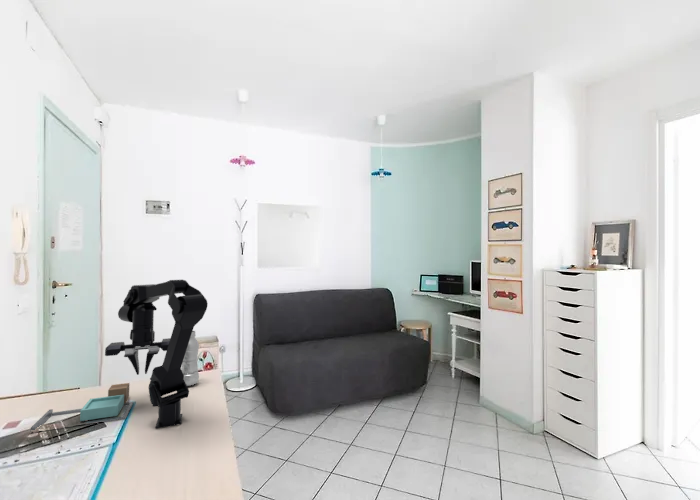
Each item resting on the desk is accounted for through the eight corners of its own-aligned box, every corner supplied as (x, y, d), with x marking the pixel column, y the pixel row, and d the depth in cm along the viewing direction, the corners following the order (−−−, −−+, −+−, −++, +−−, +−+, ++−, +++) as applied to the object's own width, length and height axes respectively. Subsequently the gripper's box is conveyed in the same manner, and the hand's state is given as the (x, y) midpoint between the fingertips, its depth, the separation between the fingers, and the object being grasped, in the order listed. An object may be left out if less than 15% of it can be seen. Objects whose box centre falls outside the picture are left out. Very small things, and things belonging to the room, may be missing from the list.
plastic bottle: (202, 382, 132) (203, 330, 132) (192, 389, 125) (193, 333, 125) (186, 381, 132) (187, 329, 133) (175, 388, 125) (176, 333, 126)
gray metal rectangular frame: (125, 419, 101) (125, 413, 101) (30, 433, 93) (30, 427, 93) (133, 403, 112) (133, 398, 112) (49, 415, 104) (49, 409, 104)
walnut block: (125, 403, 113) (126, 387, 113) (107, 405, 111) (108, 390, 111) (129, 397, 117) (129, 382, 117) (111, 399, 115) (112, 384, 115)
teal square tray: (117, 418, 102) (117, 405, 102) (80, 423, 98) (80, 410, 98) (123, 406, 110) (124, 394, 110) (89, 411, 106) (90, 398, 106)
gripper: (177, 318, 120) (177, 363, 119) (114, 322, 112) (113, 370, 112) (175, 323, 109) (174, 373, 109) (105, 328, 102) (103, 381, 102)
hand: (142, 373), depth 108 cm, fingers closed
